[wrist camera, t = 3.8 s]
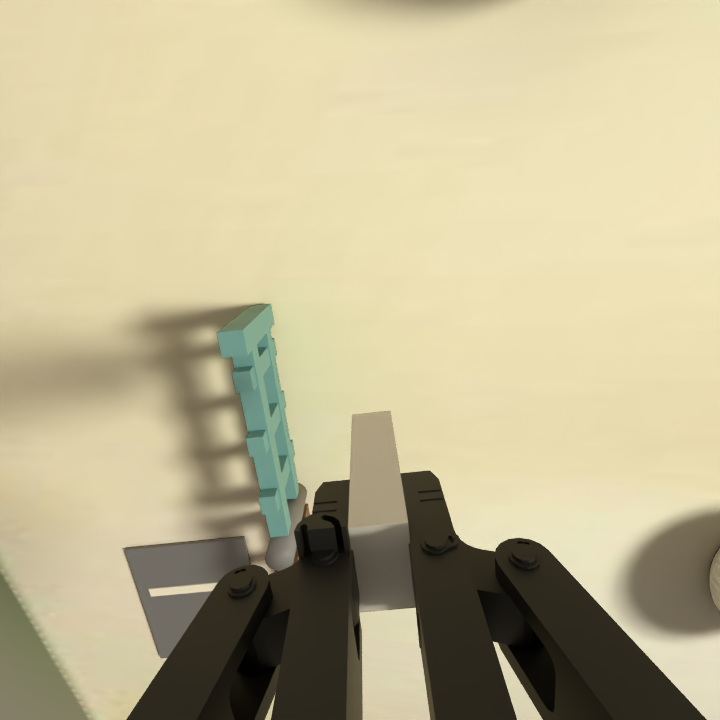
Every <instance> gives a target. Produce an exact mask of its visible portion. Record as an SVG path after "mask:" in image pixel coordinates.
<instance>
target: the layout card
mask: <svg viewBox="0 0 720 720" xmlns="http://www.w3.org/2000/svg"><path fill="white" fill-rule="evenodd" d="M125 553H126V556H127V559H128V562H129V565H130V568H131V571H132V574H133V577H134V580H135V583H136V586H137V589H138V592H139V595H140V598H141V601H142V604H143V607H144V610H145V613H146V616H147V619H148V622H149V625H150V628H151V631H152V634H153V637H154V640H155V643H156V646H157V649H158V652H159V655H160V658H168V657H169V655H170V654H171V652H172V651H173V649H174V648H175V646H176V645H177V643H178V642H179V640H180V639H181V637H182V636H183V634H184V633H185V631H186V630H187V628H188V627H189V625H190V624H191V622H192V621H193V619H194V618H195V616H196V615H197V613H198V612H199V610H200V609H201V607H202V606H203V604H204V603H205V601H206V600H207V598H208V597H209V595H210V594H211V592H212V591H213V589H214V588H215V586H216V585H217V583H218V582H219V581H220V580H221V579H222V577H223V576H224V575H225V574H227V573H229V572H230V571H232V570H233V569H235V568H238V567H241V566H244V565H251V564H250V559H249V555H248V551H247V546H246V542H245V538H244V536H243V537H233V538H222V539H212V540H202V541H191V542H181V543H171V544H160V545H150V546H140V547H130V548H126V549H125Z"/></svg>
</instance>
